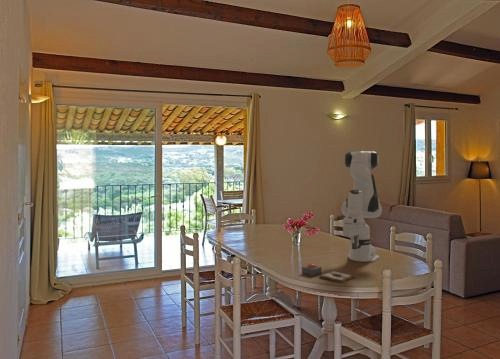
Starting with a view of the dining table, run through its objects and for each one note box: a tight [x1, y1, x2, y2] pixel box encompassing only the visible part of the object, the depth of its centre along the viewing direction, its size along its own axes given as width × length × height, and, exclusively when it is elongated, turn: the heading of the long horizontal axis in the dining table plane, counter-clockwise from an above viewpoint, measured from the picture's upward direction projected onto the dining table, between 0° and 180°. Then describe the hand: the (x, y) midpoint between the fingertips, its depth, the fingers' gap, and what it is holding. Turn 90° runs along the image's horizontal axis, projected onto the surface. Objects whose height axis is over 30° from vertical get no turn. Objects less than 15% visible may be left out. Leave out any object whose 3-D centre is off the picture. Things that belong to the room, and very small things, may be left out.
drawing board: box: [318, 270, 355, 284], centre depth 241 cm, size 14×14×2 cm
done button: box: [308, 263, 316, 268], centre depth 248 cm, size 4×4×3 cm
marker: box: [351, 234, 358, 249], centre depth 245 cm, size 3×3×10 cm
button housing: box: [301, 265, 322, 277], centre depth 248 cm, size 8×8×4 cm
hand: (354, 242), depth 246 cm, fingers closed on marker, 3 cm apart
